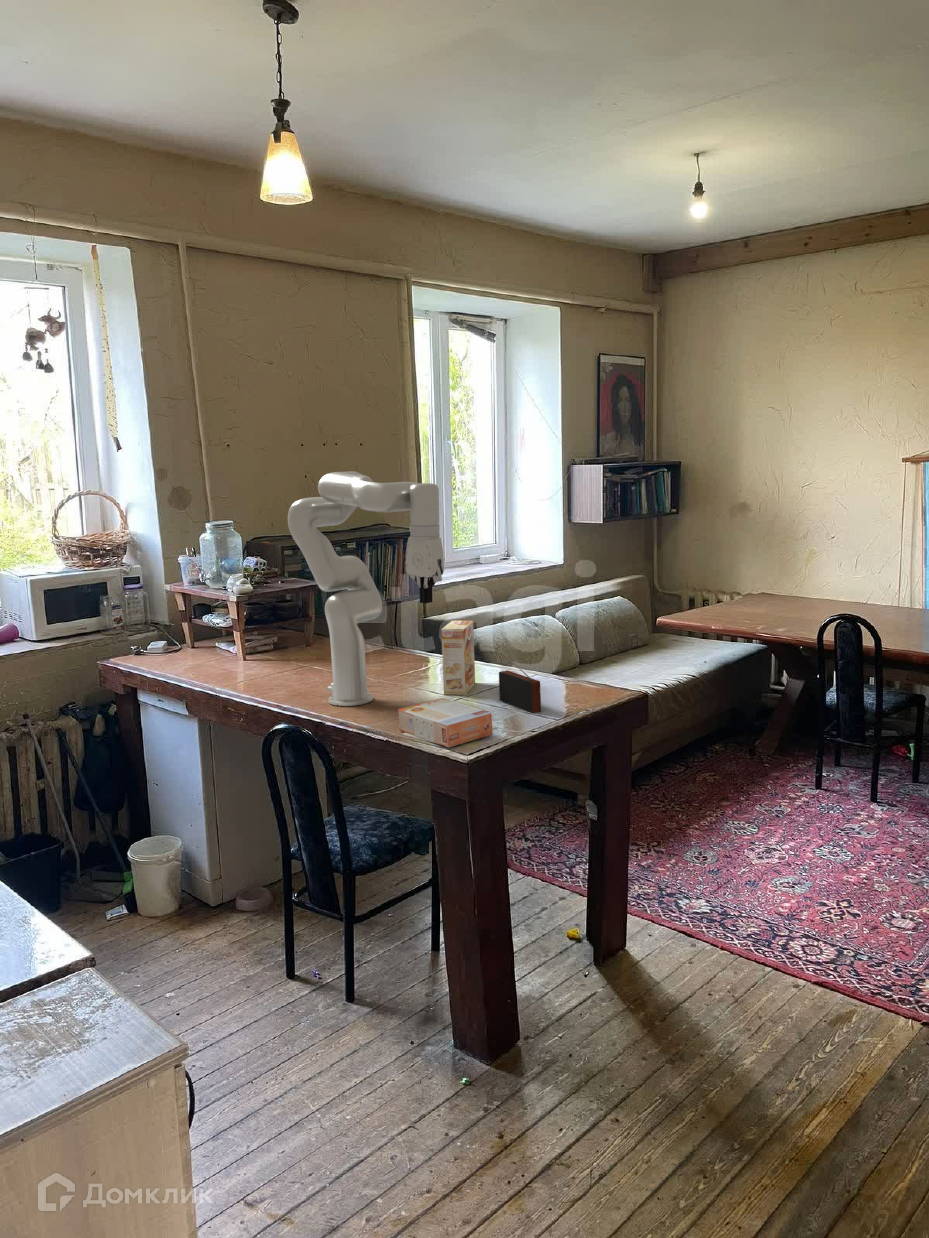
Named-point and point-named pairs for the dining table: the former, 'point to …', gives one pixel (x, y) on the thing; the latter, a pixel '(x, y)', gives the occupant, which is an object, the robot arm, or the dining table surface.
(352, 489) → the robot arm
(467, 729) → the cracker box
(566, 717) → the dining table surface
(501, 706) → the dining table surface
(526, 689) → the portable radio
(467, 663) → the coffeecake box
